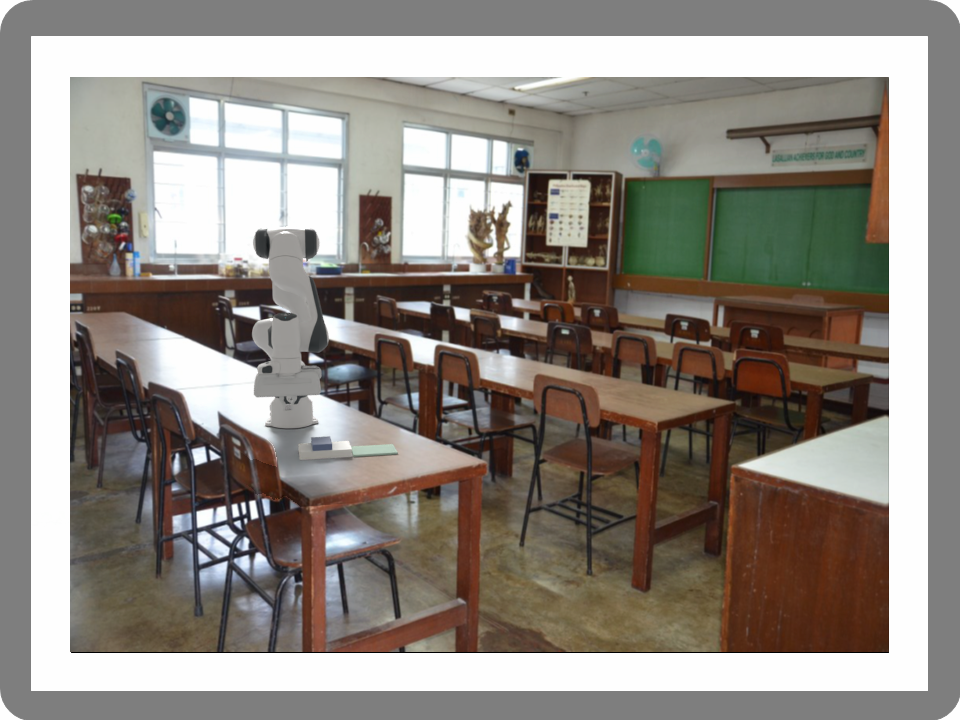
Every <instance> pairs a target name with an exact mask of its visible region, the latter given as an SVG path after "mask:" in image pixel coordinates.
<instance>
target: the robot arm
mask: <svg viewBox="0 0 960 720" xmlns="http://www.w3.org/2000/svg"><path fill="white" fill-rule="evenodd" d="M252 245H253V250H254V252H255V254H256V256H258V257H259V258H261V259H265V260H268V273H269V278H270V280H271V284H272V300H273V302H274V303H275V304H276V305H277V306H279V307H280V308H282V309H285V310H286V311H289V312H279V313H277V314H275V315H273V318H272V317H271V318H265V319H261V320H257V321H256V322H255V324H254V325H253V327H252V332H251V337H252V341H253V342H254V344H255V345H256V346H257V347H258V348H259V349H261V350H262V351H263V352H264V353H265V354H266V355H268V357H269V358H270V361H265V362H262V363H260V364H258V366H257V373H256V375H255V377H254V384H253V396H255V398H274V399H273V400H272V401H271V402H270V404H269V411H270V413H269V418H268V419H267V420H266V421H265V424H264V425H265V427H266V426H267V427H274V428H279V429H299V428H305V427H309V426H311V425H315V424H318V423H319V420H318V418H316V417H315V416H314V411H313V410H314V409H313V407H314V406H313V401H312V400H311V399H310V398H309V396H319V395H320V394H321V393H322V389H321V381H320V379H321V378H322V369H321V368H320V367H319V366H317V365H315V364H313V365H306V364H305V362H304V361H303V360H302V352H307V353H318V354H319V353H321V352H323V350H325V349H326V348H327V346H328V345H329V341H330V340H329V331H328V328H327V326H326V324H325V320H324V319H325V318H324V314H323V311H322V306H321V301H320V298H319V295H318V289H317V286H316V283H315V281H314V278H313V276H310V275H308V273H307V272H306V271H305V267H304V259H306V261H305V262H307V263H308V262H309V260H310V259H313V258H314V257H315V256H317V254H318V252H319V250H320V238H319V236H318V233H317V231H316V230H315V229H313V228H309V227H305V228H304V227H297V226H296V227H295V226H286V227H285V226H283V227H282V226H281V227H269V228H268V227H263V228H259V229H257V230H256V231H255V234H254V236H253V239H252Z"/></svg>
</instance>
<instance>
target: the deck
mask: <svg viewBox="0 0 960 720" xmlns="http://www.w3.org/2000/svg"><path fill="white" fill-rule="evenodd" d="M297 446H298V458H299V461H305V460H308V461H309V460H319V459H320V460H324V459H340V458H341V459H342V458H352V457H353V454H352V448H351V446H352V445H351V443H350V441H349V440H341V441H332V450H322V451H313V450H312V445H311V442H305V443H298V445H297Z"/></svg>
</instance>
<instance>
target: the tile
mask: <svg viewBox="0 0 960 720" xmlns="http://www.w3.org/2000/svg"><path fill="white" fill-rule="evenodd" d="M332 442H333V441H332V438H331V436H330V435H329V436H312V437H310V443H311V445H312V450H313V451H322V450H332Z"/></svg>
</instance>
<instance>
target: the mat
mask: <svg viewBox="0 0 960 720" xmlns="http://www.w3.org/2000/svg"><path fill="white" fill-rule="evenodd" d="M350 446H351V448H352V457H353V458H355V457H356V458H357V457H375V456H376V457H377V456H390V455H391V456H392V455H398V454H399V452H398V450H397V449H396V447H395V445H394V444H393V443H390V444H389V443H388V444H373V445H372V444H371V445H356V446H355V445H353V446H352V445H350Z"/></svg>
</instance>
